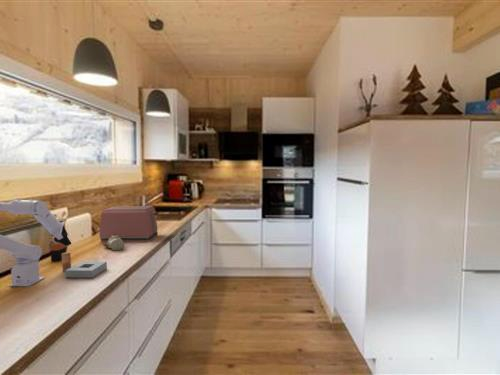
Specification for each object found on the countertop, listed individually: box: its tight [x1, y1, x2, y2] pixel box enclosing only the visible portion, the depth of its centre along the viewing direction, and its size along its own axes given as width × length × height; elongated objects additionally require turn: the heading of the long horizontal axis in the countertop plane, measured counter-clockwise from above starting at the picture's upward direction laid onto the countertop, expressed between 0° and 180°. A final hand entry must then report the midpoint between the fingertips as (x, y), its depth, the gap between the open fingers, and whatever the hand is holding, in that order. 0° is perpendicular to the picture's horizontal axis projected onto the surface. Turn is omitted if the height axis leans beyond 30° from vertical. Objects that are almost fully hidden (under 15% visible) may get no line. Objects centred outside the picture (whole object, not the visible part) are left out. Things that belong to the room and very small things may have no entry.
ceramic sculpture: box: [103, 234, 125, 251], centre depth 182 cm, size 11×9×15 cm
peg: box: [61, 251, 72, 273], centre depth 145 cm, size 4×4×8 cm
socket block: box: [64, 261, 108, 280], centre depth 140 cm, size 12×12×4 cm
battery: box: [49, 241, 67, 262], centre depth 162 cm, size 4×7×10 cm, turn 0°
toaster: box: [98, 205, 158, 243], centre depth 204 cm, size 19×34×20 cm, turn 90°
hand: (67, 240), depth 149 cm, fingers open, 7 cm apart
